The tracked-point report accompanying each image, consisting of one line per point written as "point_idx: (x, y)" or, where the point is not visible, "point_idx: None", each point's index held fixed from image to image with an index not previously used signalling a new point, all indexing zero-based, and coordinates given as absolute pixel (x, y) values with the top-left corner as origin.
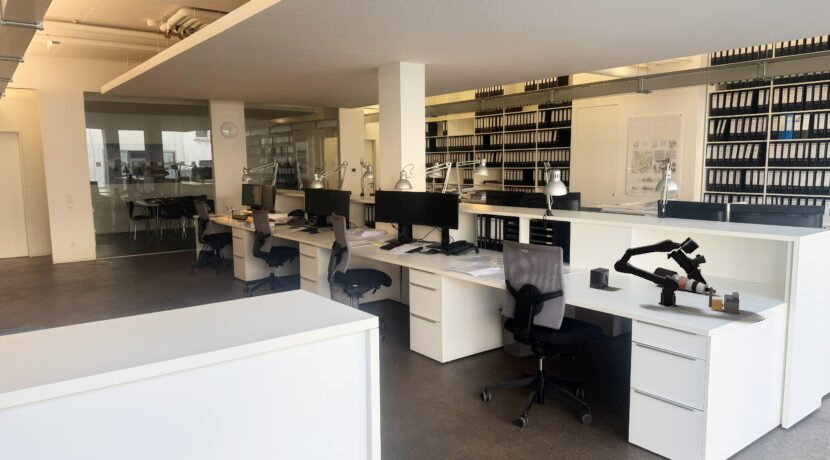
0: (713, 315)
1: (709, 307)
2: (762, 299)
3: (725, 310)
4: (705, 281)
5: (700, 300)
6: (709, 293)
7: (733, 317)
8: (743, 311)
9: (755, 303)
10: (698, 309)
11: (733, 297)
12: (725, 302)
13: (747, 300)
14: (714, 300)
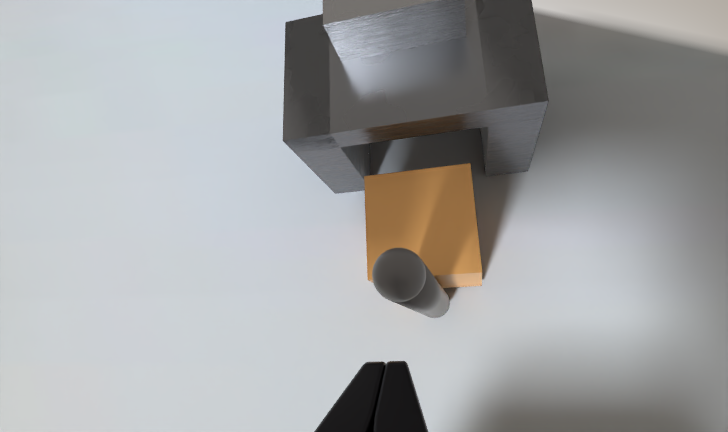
0: (718, 262)
1: (448, 307)
2: (16, 9)
3: (529, 158)
4: (418, 404)
5: (132, 391)
6: (426, 304)
7: (674, 91)
8: None
9: (121, 24)
10: (517, 419)
11: (463, 24)
12: (537, 124)
13: (56, 74)
14: (448, 248)
